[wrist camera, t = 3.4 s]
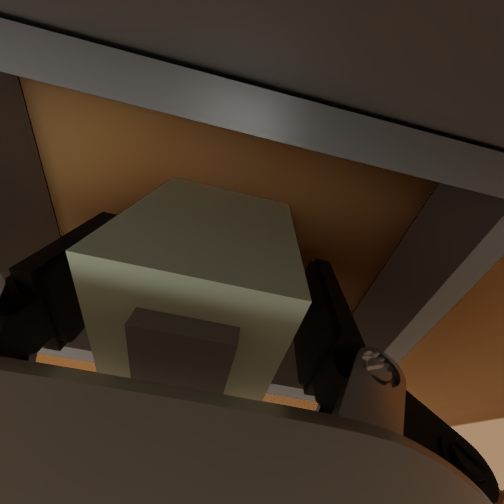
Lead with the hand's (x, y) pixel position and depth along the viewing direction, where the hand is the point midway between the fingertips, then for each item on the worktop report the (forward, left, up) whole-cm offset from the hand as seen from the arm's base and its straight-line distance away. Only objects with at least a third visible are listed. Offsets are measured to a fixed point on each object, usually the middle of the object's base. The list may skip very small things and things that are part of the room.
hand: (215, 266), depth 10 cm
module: (0, 0, -2) cm, 2 cm away
